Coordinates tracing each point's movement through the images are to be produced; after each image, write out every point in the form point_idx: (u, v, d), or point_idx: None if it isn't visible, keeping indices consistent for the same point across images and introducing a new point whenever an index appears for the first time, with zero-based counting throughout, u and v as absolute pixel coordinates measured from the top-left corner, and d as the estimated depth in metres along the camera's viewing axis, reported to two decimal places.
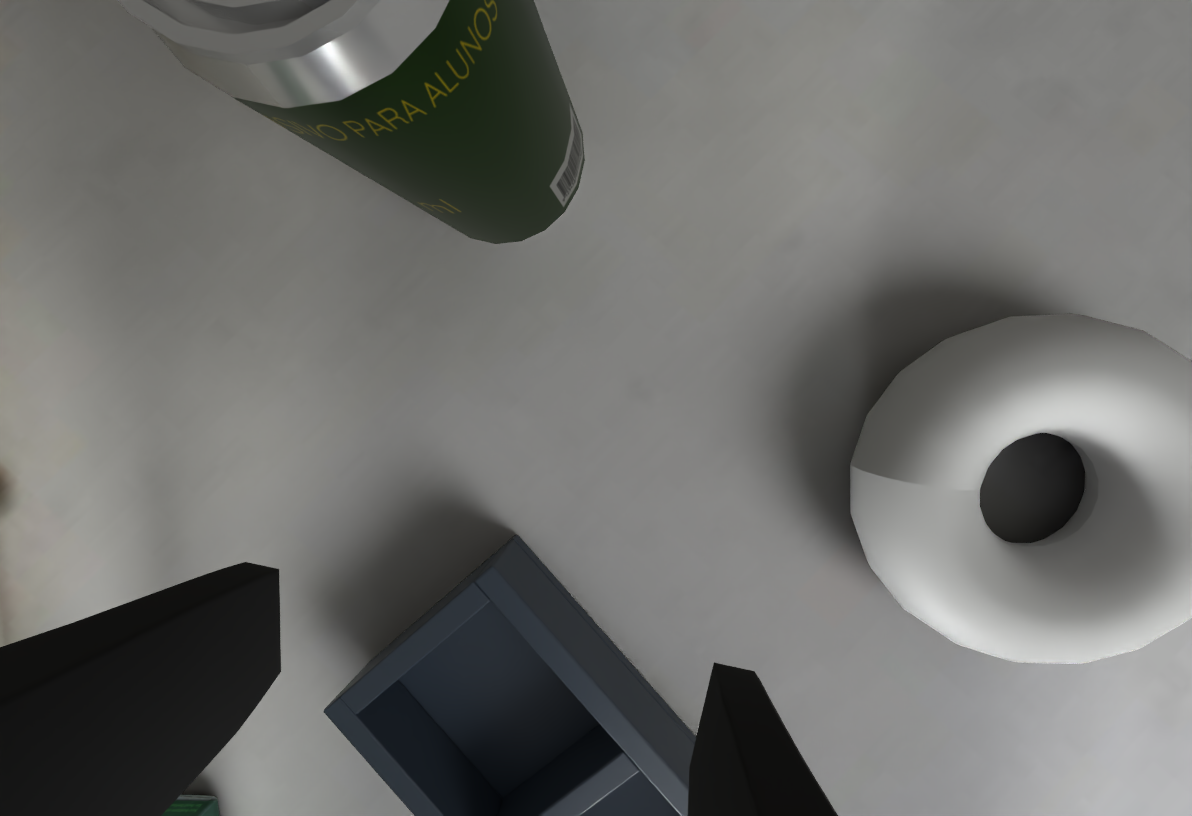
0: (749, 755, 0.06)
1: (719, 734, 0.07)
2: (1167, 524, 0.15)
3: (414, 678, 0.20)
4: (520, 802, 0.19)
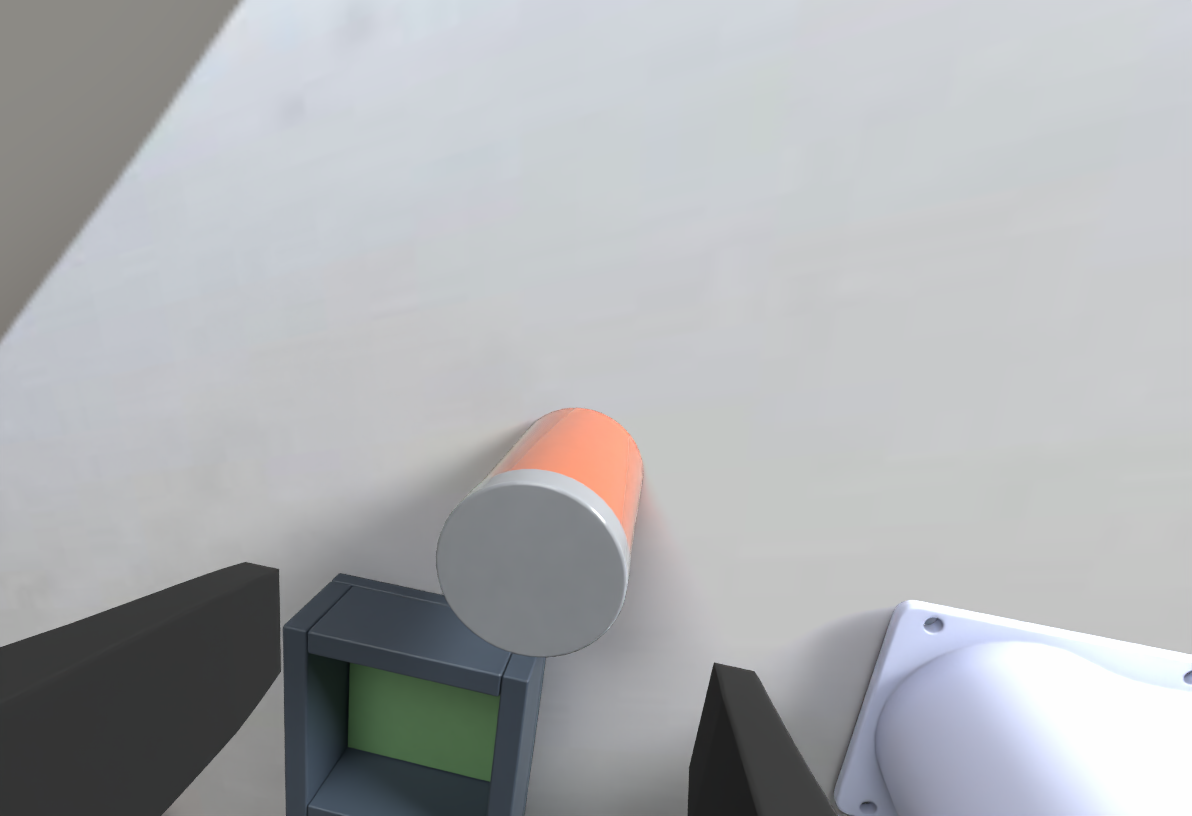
0: (749, 755, 0.06)
1: (720, 733, 0.07)
2: None
3: None
4: None
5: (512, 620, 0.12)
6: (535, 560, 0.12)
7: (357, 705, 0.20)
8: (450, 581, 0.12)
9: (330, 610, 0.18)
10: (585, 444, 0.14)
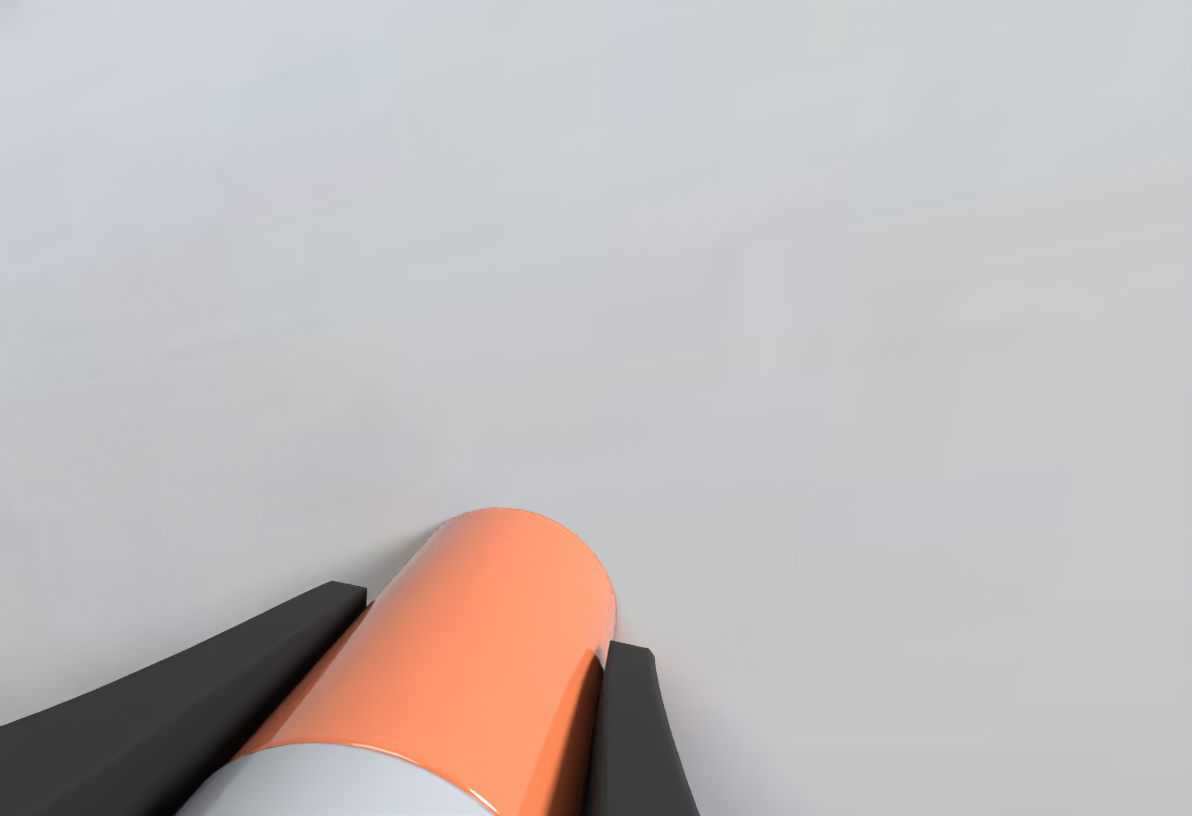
0: (612, 724, 0.07)
1: (599, 707, 0.07)
2: None
3: None
4: None
5: None
6: None
7: None
8: None
9: None
10: (491, 619, 0.07)
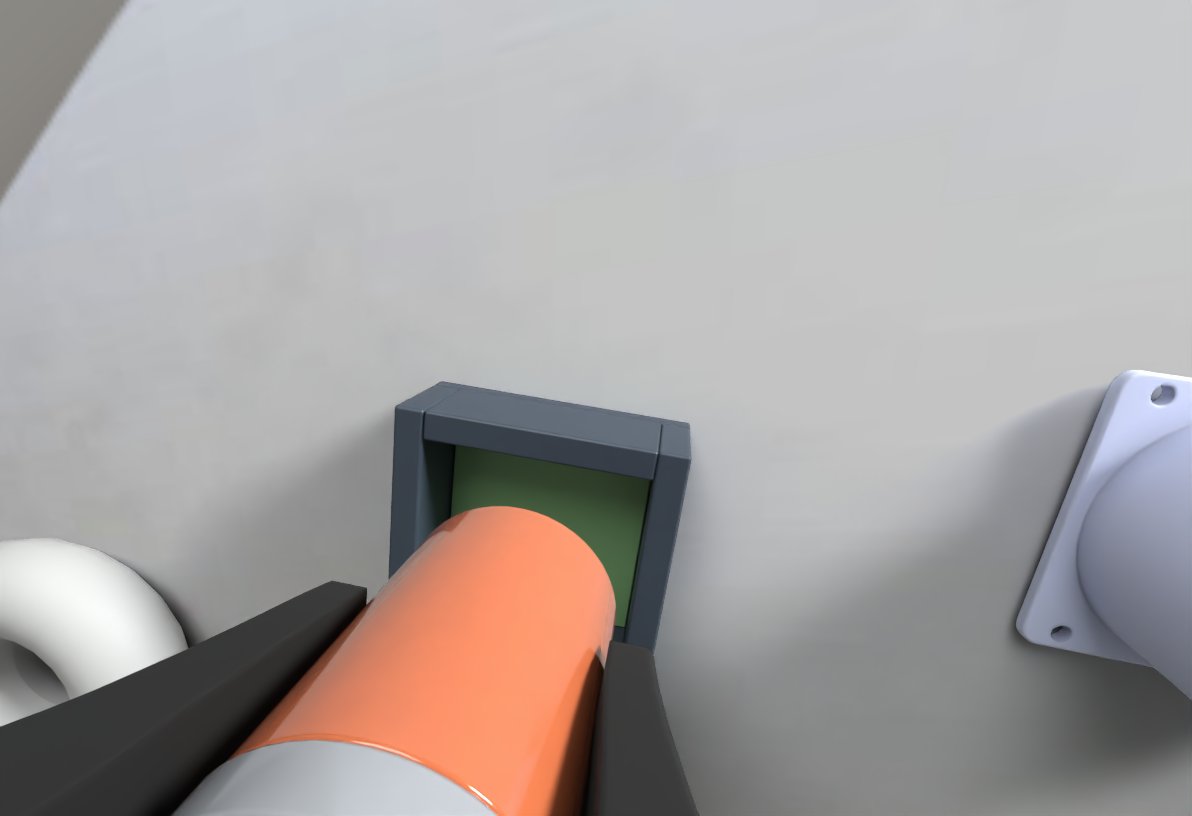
0: (611, 723, 0.07)
1: (599, 706, 0.07)
2: None
3: None
4: None
5: None
6: None
7: None
8: None
9: (444, 400, 0.15)
10: (491, 616, 0.07)
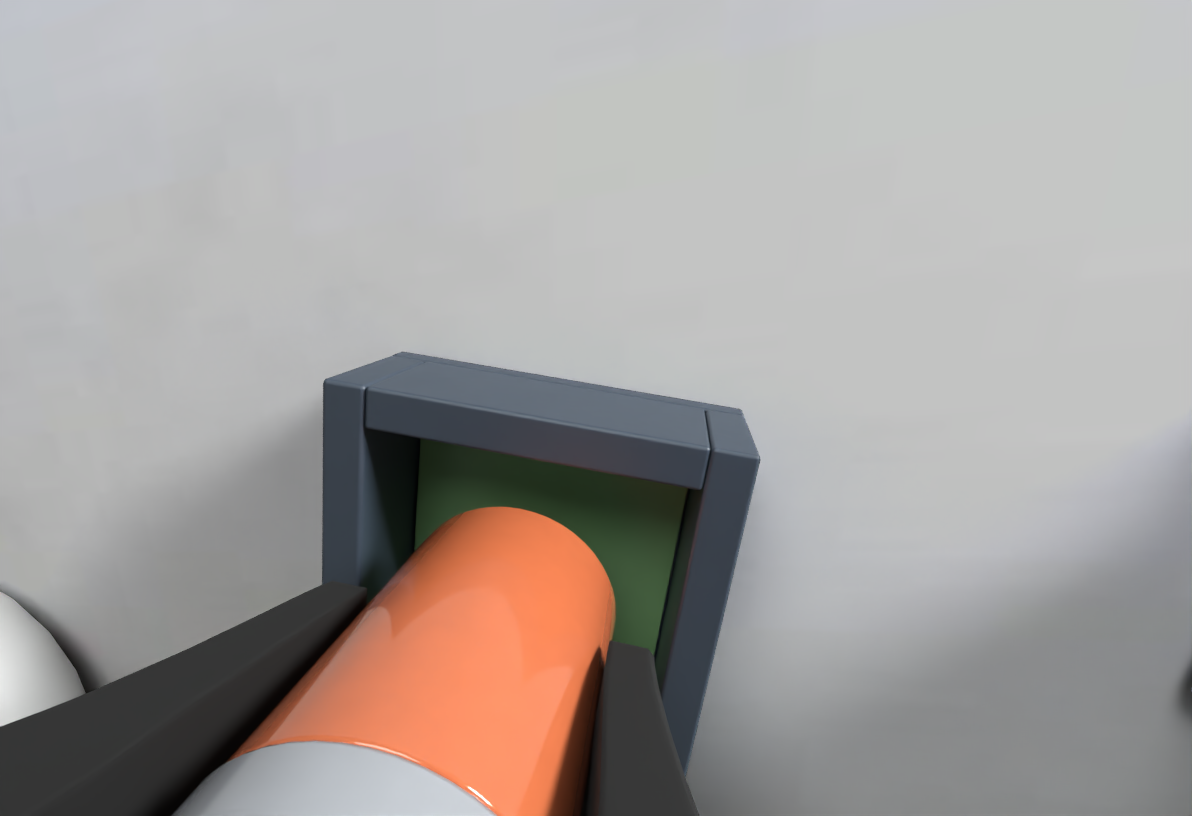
0: (611, 723, 0.07)
1: (599, 707, 0.07)
2: None
3: None
4: None
5: None
6: None
7: None
8: None
9: (399, 374, 0.11)
10: (491, 618, 0.07)
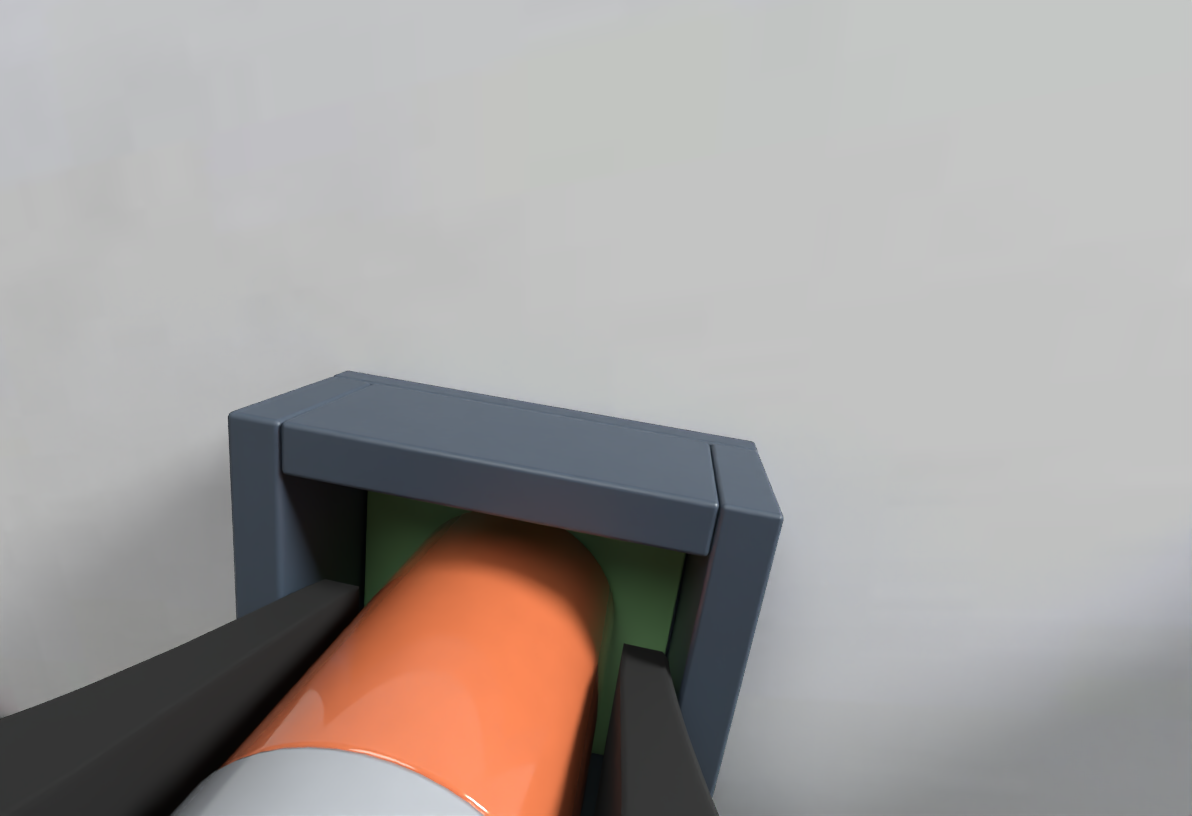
0: (630, 727, 0.07)
1: (615, 710, 0.07)
2: None
3: None
4: None
5: None
6: None
7: None
8: None
9: (332, 402, 0.09)
10: (489, 621, 0.07)
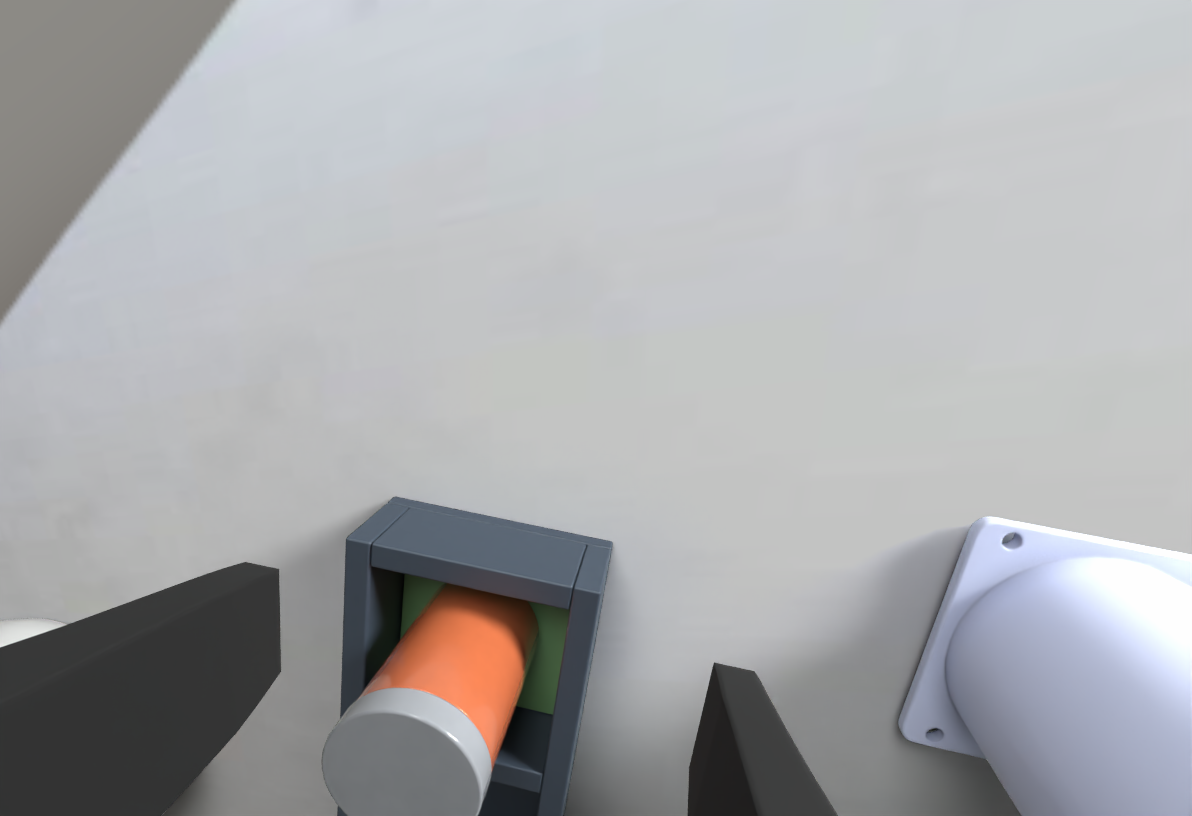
0: (749, 755, 0.06)
1: (719, 735, 0.07)
2: None
3: None
4: None
5: None
6: (404, 771, 0.14)
7: None
8: (334, 782, 0.14)
9: (392, 526, 0.17)
10: (468, 638, 0.16)
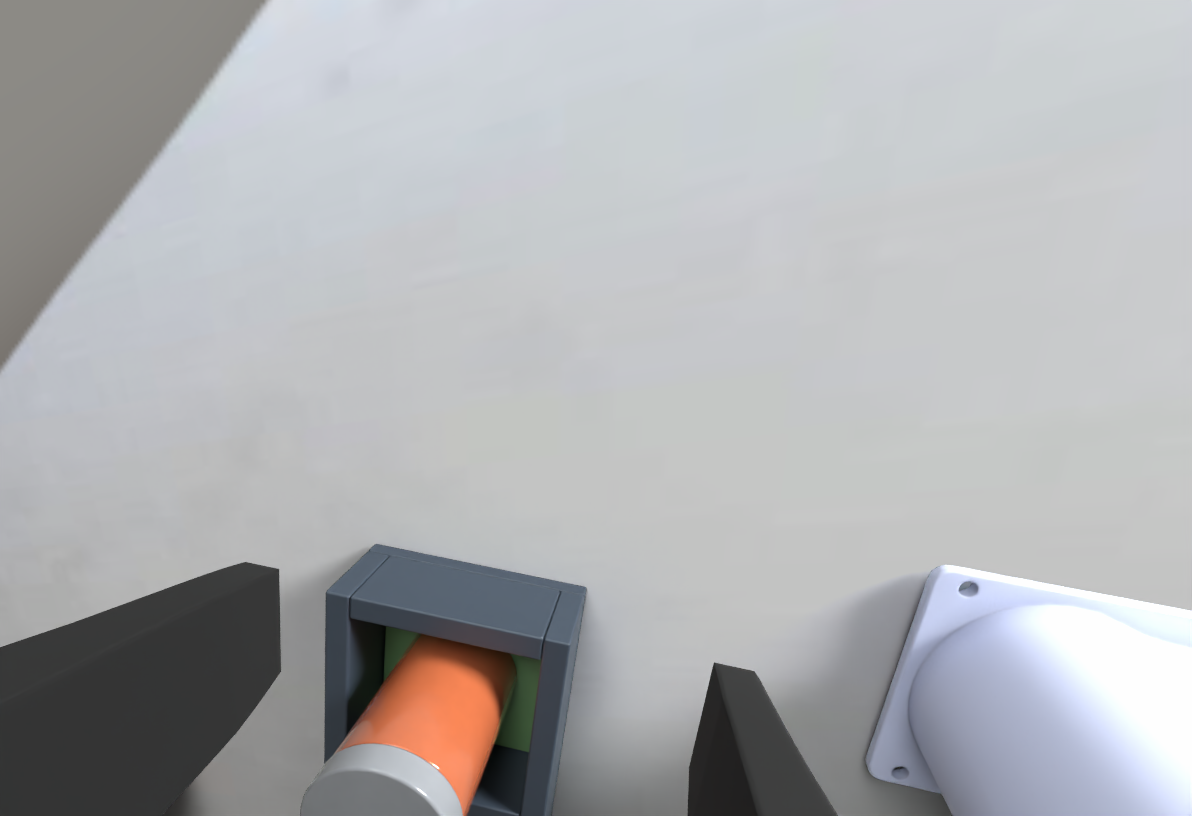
0: (749, 755, 0.06)
1: (719, 734, 0.07)
2: None
3: None
4: None
5: None
6: None
7: None
8: None
9: (371, 577, 0.18)
10: (443, 689, 0.16)
